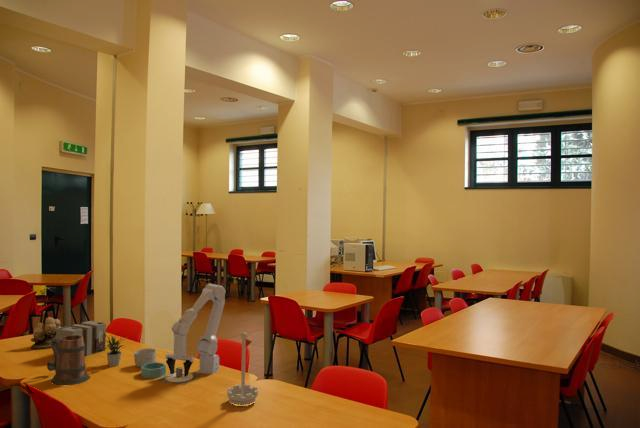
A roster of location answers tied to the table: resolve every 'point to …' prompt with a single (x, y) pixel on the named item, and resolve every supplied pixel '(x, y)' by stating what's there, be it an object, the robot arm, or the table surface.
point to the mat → (178, 382)
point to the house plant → (113, 351)
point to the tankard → (68, 361)
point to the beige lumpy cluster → (45, 334)
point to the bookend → (87, 335)
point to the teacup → (144, 356)
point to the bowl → (153, 370)
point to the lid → (178, 376)
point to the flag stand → (243, 382)
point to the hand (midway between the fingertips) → (179, 374)
